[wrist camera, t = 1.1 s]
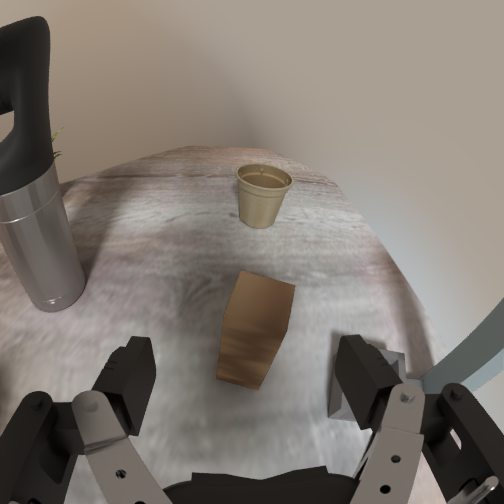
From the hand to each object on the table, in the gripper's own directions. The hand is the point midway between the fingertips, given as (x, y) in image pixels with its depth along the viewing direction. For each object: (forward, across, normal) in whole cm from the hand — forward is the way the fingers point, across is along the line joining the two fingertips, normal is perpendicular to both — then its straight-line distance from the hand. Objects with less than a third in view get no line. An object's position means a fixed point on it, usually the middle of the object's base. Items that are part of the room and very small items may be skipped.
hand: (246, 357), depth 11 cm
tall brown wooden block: (+15, 0, +12) cm, 19 cm away
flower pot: (+40, -4, +1) cm, 40 cm away
